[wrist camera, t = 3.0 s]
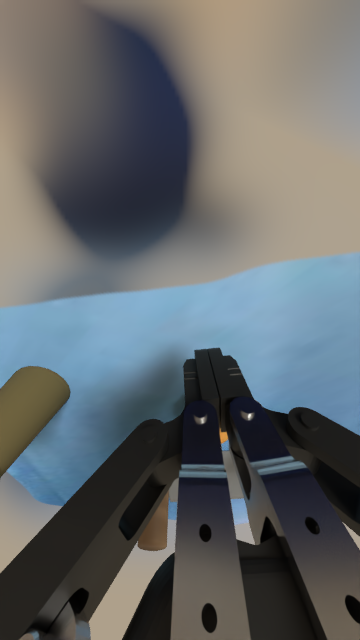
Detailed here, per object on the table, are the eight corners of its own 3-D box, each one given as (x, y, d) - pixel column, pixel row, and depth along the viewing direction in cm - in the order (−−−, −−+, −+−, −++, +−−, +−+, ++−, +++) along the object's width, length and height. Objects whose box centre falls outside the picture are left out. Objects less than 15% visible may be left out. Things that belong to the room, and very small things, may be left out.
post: (169, 435, 24) (164, 539, 16) (171, 446, 25) (168, 550, 17) (149, 436, 24) (134, 541, 16) (153, 447, 25) (140, 551, 17)
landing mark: (259, 448, 25) (259, 450, 25) (251, 496, 31) (251, 497, 31) (159, 454, 26) (158, 456, 26) (170, 500, 32) (170, 501, 32)
